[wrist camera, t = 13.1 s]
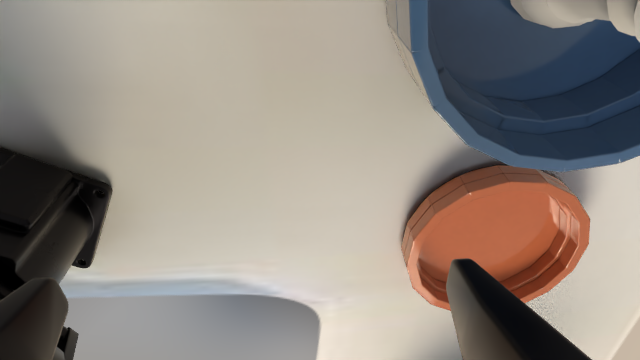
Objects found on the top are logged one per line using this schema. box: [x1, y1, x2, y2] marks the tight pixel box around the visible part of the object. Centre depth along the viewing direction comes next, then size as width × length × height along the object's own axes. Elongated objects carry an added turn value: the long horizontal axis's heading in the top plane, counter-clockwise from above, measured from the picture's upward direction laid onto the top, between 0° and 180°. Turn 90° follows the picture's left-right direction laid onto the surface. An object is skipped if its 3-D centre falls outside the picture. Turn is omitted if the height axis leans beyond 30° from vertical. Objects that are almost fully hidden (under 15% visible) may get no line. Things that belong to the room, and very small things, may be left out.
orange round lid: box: [401, 165, 590, 311], centre depth 24 cm, size 10×10×2 cm
